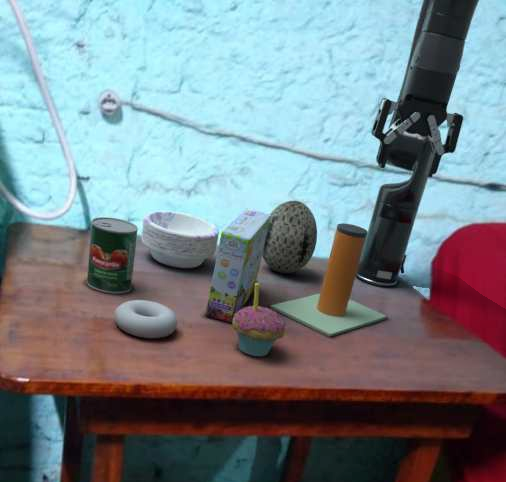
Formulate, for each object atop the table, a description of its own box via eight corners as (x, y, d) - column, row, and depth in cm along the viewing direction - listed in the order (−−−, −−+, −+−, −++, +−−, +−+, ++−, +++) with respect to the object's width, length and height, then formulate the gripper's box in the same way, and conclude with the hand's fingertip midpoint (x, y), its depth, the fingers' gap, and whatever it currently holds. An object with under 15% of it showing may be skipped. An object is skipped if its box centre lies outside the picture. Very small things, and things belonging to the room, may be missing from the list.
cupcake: (242, 362, 115) (257, 289, 109) (218, 339, 121) (231, 268, 115) (288, 360, 119) (305, 289, 113) (263, 338, 125) (278, 269, 119)
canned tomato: (126, 279, 137) (133, 219, 131) (135, 295, 131) (142, 233, 125) (83, 276, 134) (88, 215, 128) (89, 292, 128) (95, 229, 122)
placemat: (329, 293, 153) (330, 290, 153) (386, 318, 146) (387, 316, 146) (270, 308, 139) (270, 305, 138) (329, 337, 132) (330, 333, 132)
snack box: (234, 324, 128) (251, 239, 120) (203, 316, 128) (218, 230, 121) (257, 289, 146) (272, 212, 139) (229, 282, 147) (243, 205, 139)
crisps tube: (327, 303, 145) (348, 222, 137) (350, 314, 143) (373, 231, 135) (311, 307, 141) (331, 224, 133) (334, 318, 139) (357, 234, 131)
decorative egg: (288, 262, 166) (304, 194, 159) (318, 281, 158) (335, 211, 151) (244, 261, 160) (258, 191, 152) (273, 282, 152) (289, 208, 144)
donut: (160, 348, 114) (185, 327, 122) (163, 328, 112) (188, 308, 121) (102, 329, 116) (130, 310, 124) (103, 309, 114) (132, 291, 122)
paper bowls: (211, 279, 146) (218, 239, 142) (134, 264, 144) (139, 224, 140) (214, 256, 159) (221, 219, 155) (144, 243, 157) (148, 205, 153)
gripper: (468, 74, 123) (436, 174, 131) (386, 56, 120) (360, 159, 129) (483, 79, 117) (450, 184, 125) (398, 60, 114) (369, 168, 122)
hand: (404, 171), depth 127 cm, fingers open, 8 cm apart
